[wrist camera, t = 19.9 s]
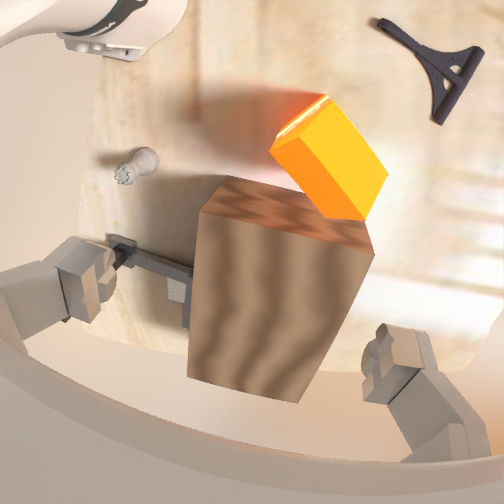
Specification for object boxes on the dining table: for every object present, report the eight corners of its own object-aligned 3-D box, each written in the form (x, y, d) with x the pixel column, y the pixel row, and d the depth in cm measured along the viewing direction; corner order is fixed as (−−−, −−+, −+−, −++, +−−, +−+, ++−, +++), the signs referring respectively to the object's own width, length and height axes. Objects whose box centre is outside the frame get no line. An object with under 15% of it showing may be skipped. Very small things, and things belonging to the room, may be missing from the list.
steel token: (172, 293, 60) (168, 299, 58) (170, 268, 57) (166, 274, 55) (201, 299, 60) (198, 306, 58) (201, 274, 56) (197, 281, 55)
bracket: (399, -12, 27) (404, -17, 24) (481, 53, 28) (490, 53, 26) (353, 62, 34) (356, 61, 32) (438, 124, 36) (445, 128, 34)
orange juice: (324, 93, 37) (338, 104, 20) (365, 143, 39) (405, 196, 22) (280, 127, 40) (258, 167, 23) (321, 175, 43) (328, 247, 26)
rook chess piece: (159, 146, 44) (134, 160, 38) (161, 173, 47) (137, 192, 40) (134, 146, 45) (106, 161, 38) (137, 173, 47) (110, 191, 41)
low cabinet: (206, 326, 62) (187, 376, 52) (227, 175, 45) (199, 211, 34) (302, 350, 61) (297, 403, 51) (360, 208, 44) (374, 254, 33)
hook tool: (117, 288, 62) (61, 351, 45) (114, 234, 54) (43, 295, 38) (196, 321, 60) (151, 399, 44) (204, 266, 53) (148, 350, 36)
